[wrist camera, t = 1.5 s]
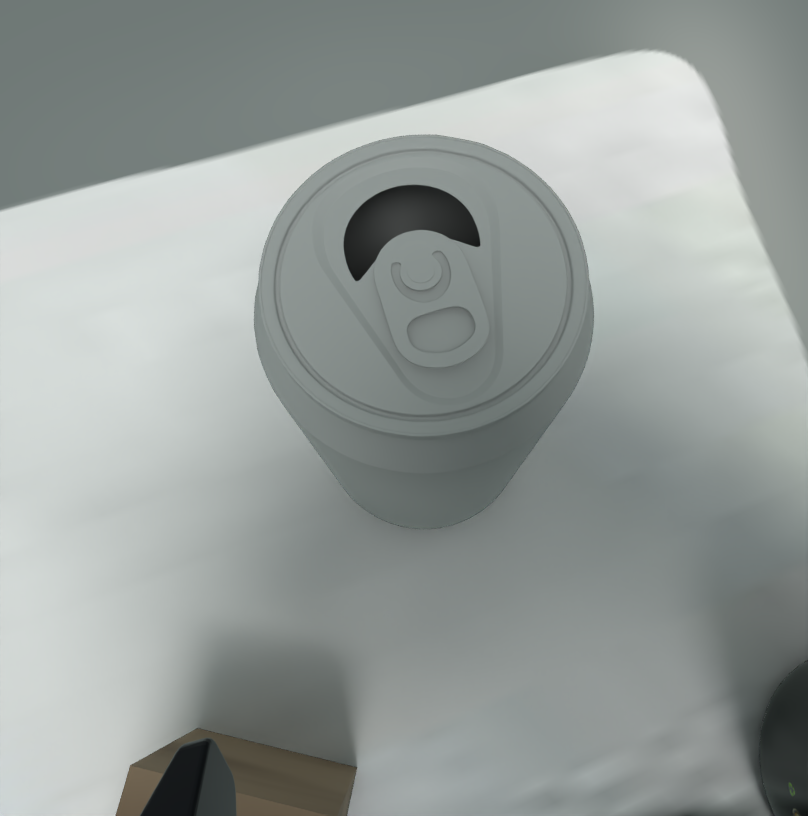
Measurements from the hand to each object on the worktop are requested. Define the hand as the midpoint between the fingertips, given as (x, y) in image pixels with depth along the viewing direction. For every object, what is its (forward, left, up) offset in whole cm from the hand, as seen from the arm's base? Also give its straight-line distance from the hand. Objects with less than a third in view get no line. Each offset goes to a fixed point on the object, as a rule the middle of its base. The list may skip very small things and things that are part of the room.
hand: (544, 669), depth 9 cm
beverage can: (+5, +4, -13) cm, 14 cm away
